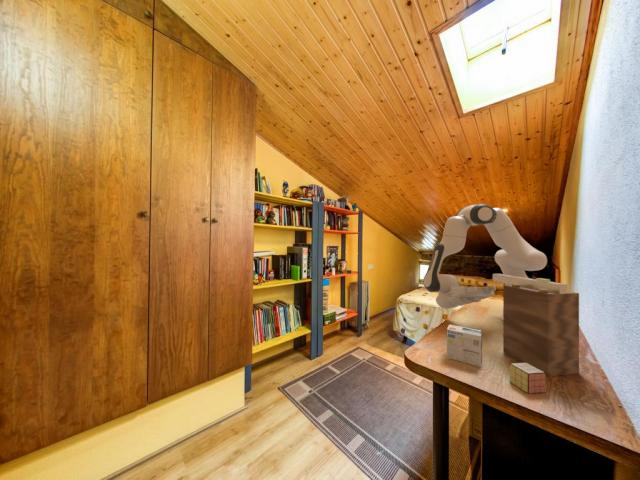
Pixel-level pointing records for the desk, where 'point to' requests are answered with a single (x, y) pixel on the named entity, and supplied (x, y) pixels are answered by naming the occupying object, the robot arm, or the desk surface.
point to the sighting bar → (532, 283)
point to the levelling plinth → (541, 329)
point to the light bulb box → (464, 345)
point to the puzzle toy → (527, 377)
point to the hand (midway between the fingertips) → (485, 288)
